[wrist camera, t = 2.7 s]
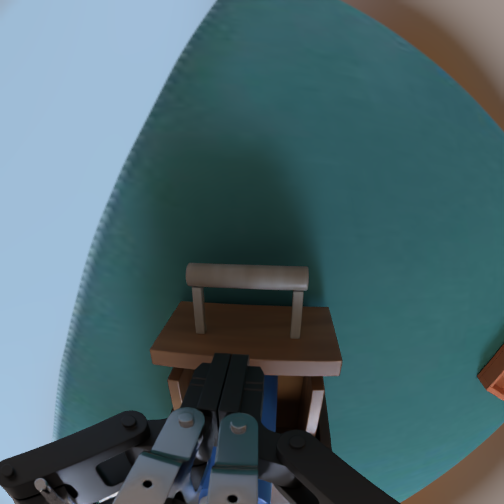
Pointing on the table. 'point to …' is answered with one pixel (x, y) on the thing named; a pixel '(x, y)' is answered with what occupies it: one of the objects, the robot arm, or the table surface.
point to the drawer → (254, 338)
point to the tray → (494, 375)
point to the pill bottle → (270, 424)
